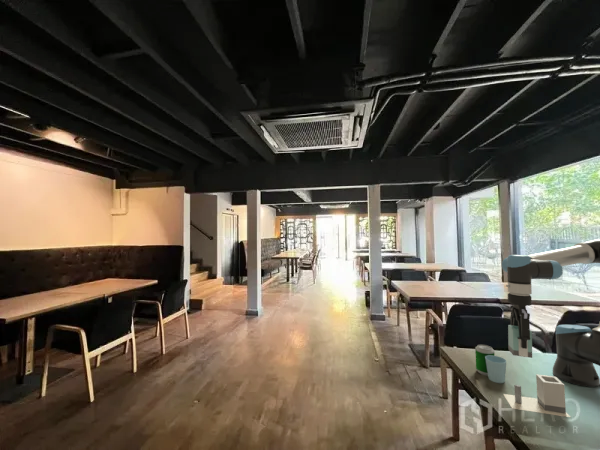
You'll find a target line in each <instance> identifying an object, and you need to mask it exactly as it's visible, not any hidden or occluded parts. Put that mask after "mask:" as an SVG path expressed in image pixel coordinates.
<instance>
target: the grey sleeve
mask: <svg viewBox="0 0 600 450" xmlns="http://www.w3.org/2000/svg"><path fill="white" fill-rule="evenodd" d="M535 378H536V381H535V382H536V399H537V401H538V402H539V404H540V405H541V406H542V407H543V409H544V410H545V411H552V412H559V413H565V414H566V413H567V411H566V393H565V392H566V391H565V388H566V387H565V384H564V383H563V382H562V380H561V379H559V378H557V377H556V376H555V375H544V374H538V373H536V374H535Z"/></svg>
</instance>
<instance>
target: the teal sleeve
mask: <svg viewBox="0 0 600 450" xmlns="http://www.w3.org/2000/svg"><path fill="white" fill-rule="evenodd" d="M507 326H508V327H507V329H508V330H507V332H508V333H507V335H508V336H507V339H508V345H507V346H508V348H507V349H508V351H509V352H510V353H511V355H512V356H515V357H517V356H518V357H520V356H519V345H518V338H517V337H519V328H518V326H514V325H511V324H508V325H507ZM521 357H524V356H521ZM524 358H525V357H524ZM527 358H531V359H532V358H533V331H532V330H531V329H530V340H528V357H527Z"/></svg>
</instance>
